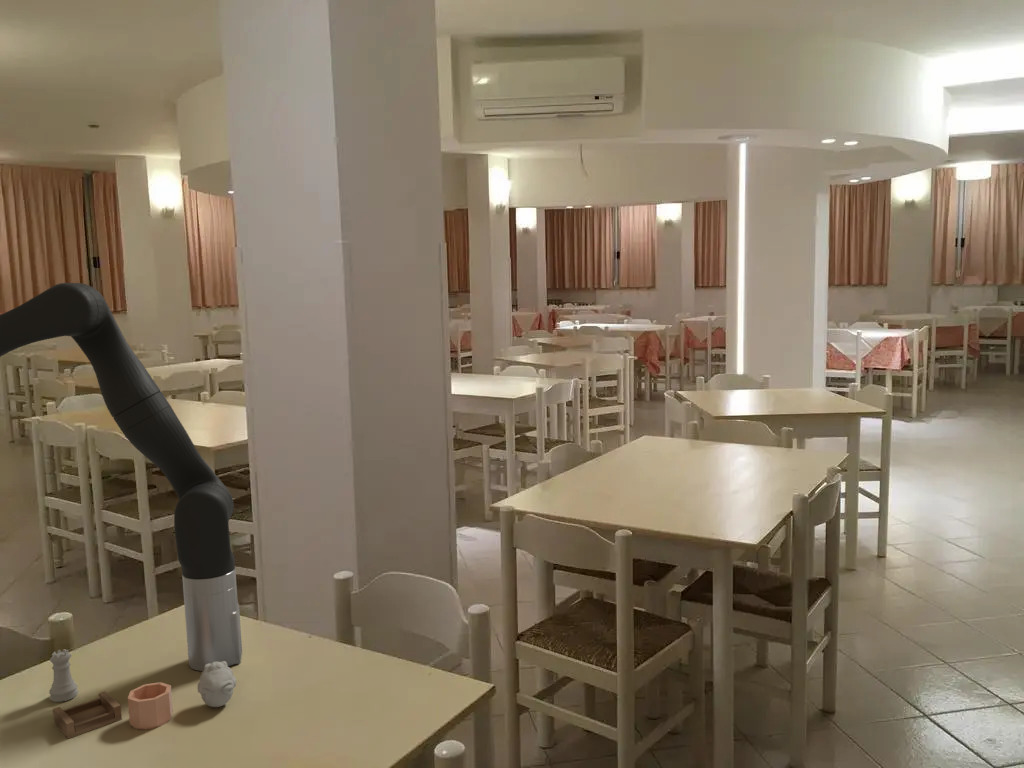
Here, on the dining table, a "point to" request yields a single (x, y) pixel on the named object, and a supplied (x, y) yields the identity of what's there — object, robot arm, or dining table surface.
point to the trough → (87, 715)
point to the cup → (150, 705)
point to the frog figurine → (216, 684)
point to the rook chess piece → (62, 678)
